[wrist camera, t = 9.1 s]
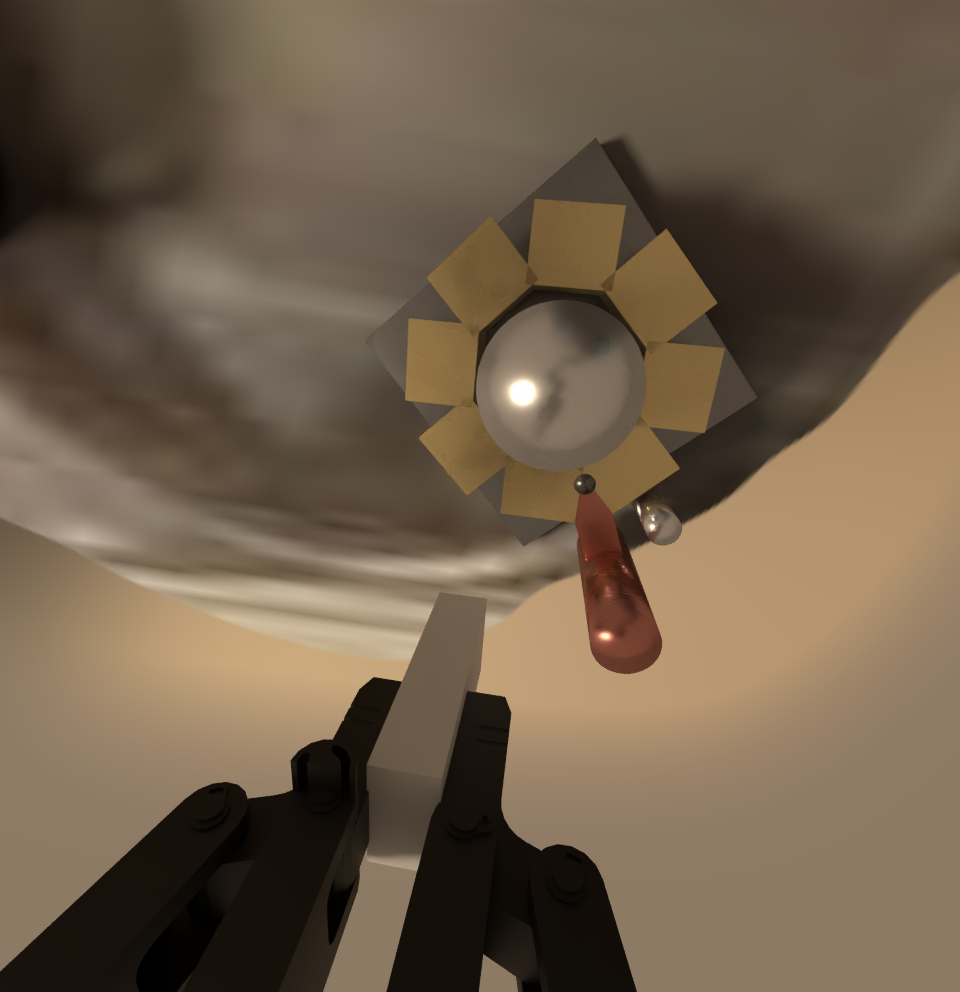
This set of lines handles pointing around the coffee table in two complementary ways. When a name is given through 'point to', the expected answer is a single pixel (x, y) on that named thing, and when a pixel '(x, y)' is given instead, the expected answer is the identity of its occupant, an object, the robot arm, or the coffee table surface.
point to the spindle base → (518, 230)
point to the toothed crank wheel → (641, 457)
